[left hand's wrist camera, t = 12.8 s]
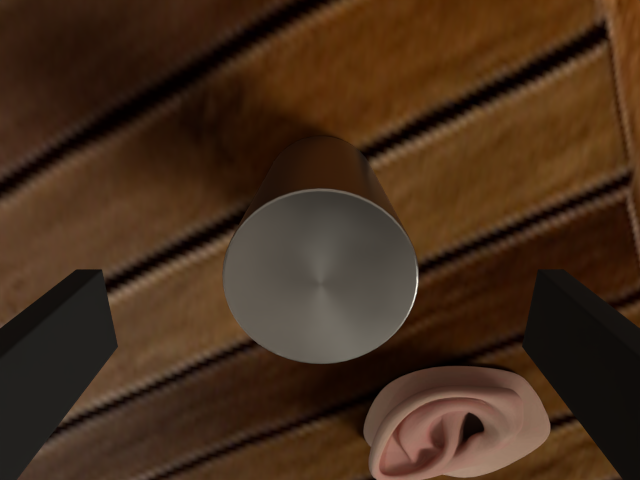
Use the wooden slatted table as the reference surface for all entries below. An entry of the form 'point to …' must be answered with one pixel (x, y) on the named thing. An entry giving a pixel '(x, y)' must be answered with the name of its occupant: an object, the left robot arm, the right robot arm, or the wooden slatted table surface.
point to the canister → (320, 257)
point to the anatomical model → (453, 423)
